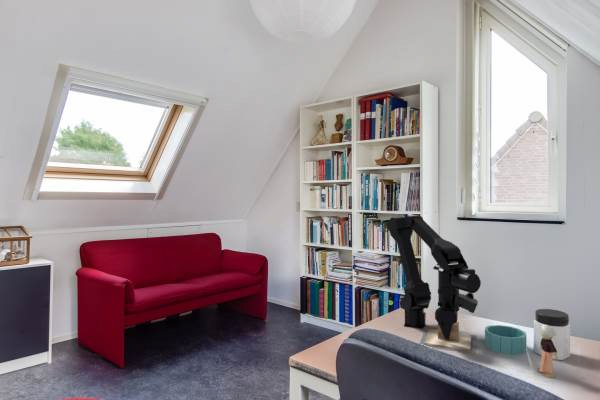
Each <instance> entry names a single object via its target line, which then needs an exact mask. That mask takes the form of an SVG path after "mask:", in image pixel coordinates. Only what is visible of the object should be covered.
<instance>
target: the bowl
mask: <svg viewBox="0 0 600 400" xmlns="http://www.w3.org/2000/svg"><path fill="white" fill-rule="evenodd" d="M484 346H485V348H488V349H489V350H491V351H493V352H496V353H498V354H500V353H501V354H504V355H505V354H506V355H522V354H524V353H526V352H527V333H526V332H525V331H524V330H522V329H520V328H518V327H513V326H510V325H509V326H508V325H501V324H494V325H493V324H492V325H487V326H486V327H484Z"/></svg>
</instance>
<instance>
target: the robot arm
mask: <svg viewBox="0 0 600 400" xmlns="http://www.w3.org/2000/svg"><path fill="white" fill-rule="evenodd" d="M387 229H388V232H389V235H390V236H391V237H392V239H393V240H394V241H395V242H396V244H397V248H398V252H399V256H400V261H401V265H402V268H403V272H404V277H405V282H406V283H405V286H404V289H403V292H404V296H403V297H402V298H401V300H400V301H399V306H400V307H399V308H400V309H401V310H402V309H403V310H404V324H403V327H404V328H412V329H422V330H423V329H424V327H425V326H426V325H427V314H426V312H425V309H429V307H430V303H431V301H432V292H431V290H430V284H429V283H428V282H425V281H424V280H423V279H422V278H421V276H420V275H421V274H420V271H419V268H418V264H417V260H416V254H415V251H414V247H413V243H412V235H413V233H415V234H416V235H417V236H418V237H419V238H420V239H421V241H423V242H424V243H425V244H426V246H428V247H429V249H430V254H431V257H433V259H434V260H435V262H436V263H437V264H435V265H434V266H433V268H432V269H433V270H435V271H438V272H437V275H438V276H437V277H438V279H437V282H438V283H437V285H438V287H437V294H438V300H437V301H438V302H437V307H438V308H437V309H435V312H434V319H435V321H436V322H437V325H438V324H439V326H440V329H441V331H442V333H443V335H444V338H445V339H446V340H449V338H450V333H451V328H452V325H453V324H454V323H456V322H458V318H459V317H458V315H459V313H458V312H459V311H460V308H462V309H464V310H466V311H468V312H470V313H471V314H474V313H475V311H476V309H477V307H478V303H479V301H478V300H477V299H476V298H475V295H474V294H475V293H477V292H478V291H479V290H480V288H481V285H482V281H481V278H480V277H479V275H478V274H477V273H476V270H475V269H473V268H469V266H468V263H467V261H466V260H465V257H464V256H463V254H462V250H461V249H460V248H459V247H458V245H455V244H454V243H453V242H452V241H449V240H446V239H444V238H442V237H441V236H440V235H439V234H438V233H437V232H436V231H435V230H434V229H433V228H432V227H431V226H430V225H429V224H428V223H427V222H426V220H424V218H423V217H422V216H421V215H418V214H416V215H415V214H413V215H411V214H410V215H408V216H398V217H397V216H396V217H395V216H394V217H391V218H390V219H389V220H388V222H387ZM460 291H463V292H465V293H466V294H464V293H460Z"/></svg>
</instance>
